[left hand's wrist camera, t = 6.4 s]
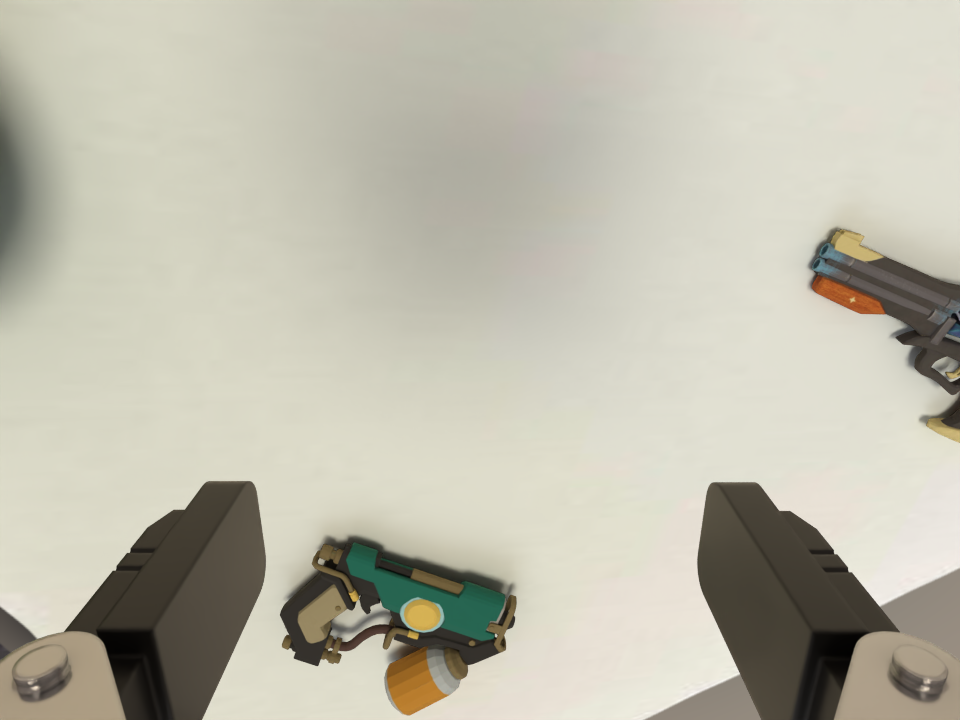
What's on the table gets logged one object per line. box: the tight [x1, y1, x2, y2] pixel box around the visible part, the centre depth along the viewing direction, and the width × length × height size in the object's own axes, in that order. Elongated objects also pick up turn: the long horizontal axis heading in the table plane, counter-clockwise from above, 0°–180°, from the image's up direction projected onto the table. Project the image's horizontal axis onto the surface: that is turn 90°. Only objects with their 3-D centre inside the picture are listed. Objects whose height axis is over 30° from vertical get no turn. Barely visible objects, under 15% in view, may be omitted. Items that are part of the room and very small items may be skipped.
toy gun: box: [812, 229, 960, 443], centre depth 44 cm, size 3×19×10 cm
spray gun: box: [280, 542, 516, 715], centre depth 52 cm, size 4×17×15 cm
